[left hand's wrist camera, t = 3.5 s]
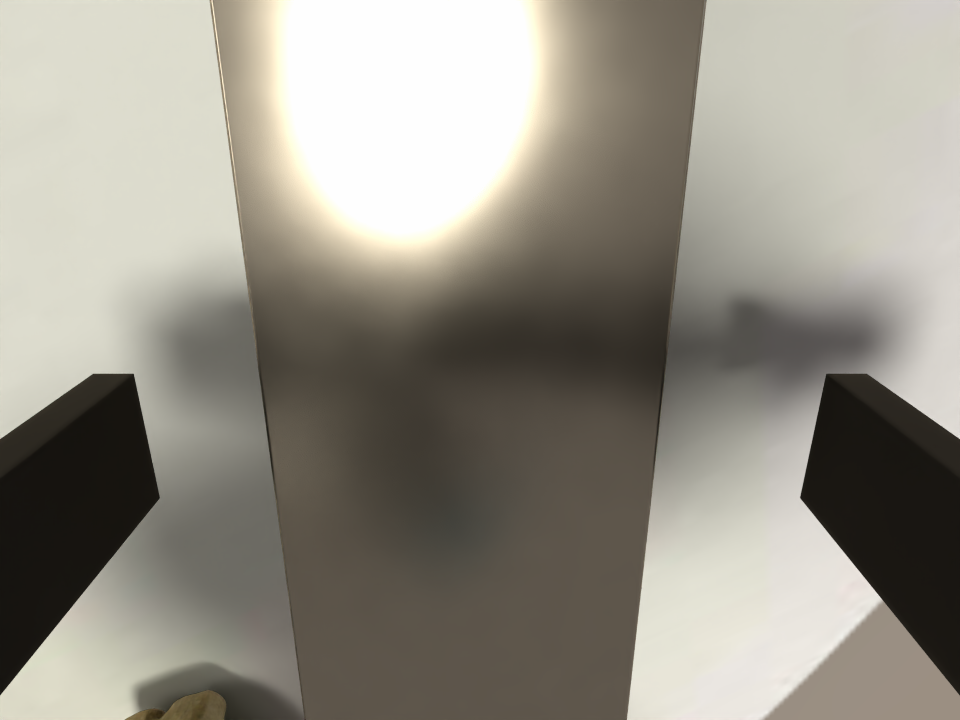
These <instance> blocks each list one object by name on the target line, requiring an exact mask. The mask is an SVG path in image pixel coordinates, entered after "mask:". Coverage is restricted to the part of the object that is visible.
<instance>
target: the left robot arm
mask: <svg viewBox="0 0 960 720" xmlns="http://www.w3.org/2000/svg"><path fill="white" fill-rule="evenodd" d="M159 498H160V496H159V492H158V487H157V482H156V478H155V473H154V468H153V463H152V459H151V454H150V449H149V444H148V440H147V435H146V430H145V425H144V421H143V416H142V411H141V406H140V402H139V397H138V392H137V387H136V383H135V378H134V374H92V375H91V376H90V377H88V378H87V379H85V380H84V381H82V382H81V383H80V384H78V385H77V386H75V387H74V388H72V389H71V390H70V391H68V392H67V393H65V394H64V395H62V396H61V397H60V398H58V399H57V400H55V401H54V402H52V403H51V404H50V405H48V406H47V407H45V408H44V409H43V410H41V411H40V412H38V413H37V414H35V415H34V416H33V417H31V418H30V419H28V420H27V421H25V422H24V423H23V424H21V425H20V426H18V427H17V428H15V429H14V430H13V431H11V432H10V433H8V434H7V435H6V436H4V437H3V438H1V439H0V695H1V694H2V692H3V691H4V690H5V689H6V687H7V686H8V685H9V684H10V683H11V681H12V680H13V679H14V678H15V676H16V675H17V674H18V673H19V671H20V670H21V669H22V668H23V666H24V665H25V664H26V663H27V662H28V660H29V659H30V658H31V657H32V655H33V654H34V653H35V652H36V650H37V649H38V648H39V647H40V645H41V644H42V643H43V642H44V641H45V639H46V638H47V637H48V636H49V634H50V633H51V632H52V631H53V629H54V628H55V627H56V626H57V624H58V623H59V622H60V621H61V619H62V618H63V617H64V616H65V615H66V613H67V612H68V611H69V610H70V608H71V607H72V606H73V605H74V603H75V602H76V601H77V600H78V598H79V597H80V596H81V595H82V594H83V592H84V591H85V590H86V589H87V587H88V586H89V585H90V584H91V582H92V581H93V580H94V579H95V577H96V576H97V575H98V574H99V573H100V571H101V570H102V569H103V568H104V566H105V565H106V564H107V563H108V561H109V560H110V559H111V558H112V556H113V555H114V554H115V553H116V552H117V550H118V549H119V548H120V547H121V545H122V544H123V543H124V542H125V540H126V539H127V538H128V537H129V535H130V534H131V533H132V532H133V530H134V529H135V528H136V527H137V526H138V524H139V523H140V522H141V521H142V519H143V518H144V517H145V516H146V514H147V513H148V512H149V511H150V509H151V508H152V507H153V506H154V505H155V503H156V502H157V501H158V500H159ZM800 498H801V500H802V501H803V502H804V503H805V505H806V506H807V507H808V508H809V509H810V511H811V512H812V513H813V514H814V516H815V517H816V518H817V519H818V521H819V522H820V523H821V524H822V526H823V527H824V528H825V529H826V530H827V532H828V533H829V534H830V535H831V537H832V538H833V539H834V540H835V542H836V543H837V544H838V545H839V547H840V548H841V549H842V550H843V552H844V553H845V554H846V555H847V556H848V558H849V559H850V560H851V561H852V563H853V564H854V565H855V566H856V568H857V569H858V570H859V571H860V573H861V574H862V575H863V576H864V577H865V579H866V580H867V581H868V582H869V584H870V585H871V586H872V587H873V589H874V590H875V591H876V592H877V594H878V595H879V596H880V597H881V598H882V600H883V601H884V602H885V603H886V605H887V606H888V607H889V608H890V610H891V611H892V612H893V613H894V615H895V616H896V617H897V618H898V619H899V621H900V622H901V623H902V624H903V626H904V627H905V628H906V629H907V631H908V632H909V633H910V634H911V636H912V637H913V638H914V639H915V641H916V642H917V643H918V644H919V645H920V647H921V648H922V649H923V650H924V652H925V653H926V654H927V655H928V657H929V658H930V659H931V660H932V662H933V663H934V664H935V665H936V666H937V668H938V669H939V670H940V671H941V673H942V674H943V675H944V676H945V678H946V679H947V680H948V681H949V682H950V684H951V685H952V686H953V687H954V689H955V690H956V691H957V692H958V694H959V695H960V439H959V438H957V437H956V436H954V435H953V434H952V433H950V432H949V431H947V430H946V429H945V428H943V427H942V426H940V425H939V424H937V423H936V422H935V421H933V420H932V419H930V418H929V417H927V416H926V415H925V414H923V413H922V412H920V411H919V410H917V409H916V408H915V407H913V406H912V405H910V404H909V403H908V402H906V401H905V400H903V399H902V398H900V397H899V396H898V395H896V394H895V393H893V392H892V391H890V390H889V389H888V388H886V387H885V386H883V385H882V384H880V383H879V382H878V381H876V380H875V379H873V378H872V377H870V376H869V375H868V374H826V378H825V383H824V387H823V392H822V397H821V402H820V406H819V411H818V416H817V421H816V425H815V430H814V435H813V440H812V444H811V449H810V454H809V459H808V463H807V468H806V473H805V477H804V482H803V487H802V492H801V496H800Z"/></svg>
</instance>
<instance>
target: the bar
mask: <svg viewBox="0 0 960 720" xmlns="http://www.w3.org/2000/svg"><path fill="white" fill-rule="evenodd" d="M706 1H707V0H210V7H211V14H212V22H213V29H214V37H215V44H216V52H217V59H218V67H219V75H220V82H221V90H222V97H223V105H224V112H225V120H226V127H227V135H228V143H229V150H230V158H231V165H232V173H233V180H234V188H235V195H236V203H237V211H238V218H239V226H240V233H241V241H242V248H243V256H244V263H245V271H246V278H247V286H248V294H249V301H250V309H251V316H252V324H253V331H254V339H255V346H256V354H257V362H258V369H259V377H260V384H261V392H262V399H263V407H264V414H265V422H266V430H267V437H268V445H269V452H270V460H271V467H272V475H273V482H274V490H275V498H276V505H277V513H278V520H279V528H280V535H281V543H282V550H283V558H284V566H285V573H286V581H287V588H288V596H289V603H290V611H291V618H292V626H293V634H294V641H295V649H296V656H297V664H298V671H299V679H300V686H301V694H302V702H303V709H304V717H305V720H627V713H628V704H629V695H630V686H631V677H632V668H633V659H634V650H635V641H636V632H637V623H638V614H639V605H640V596H641V587H642V578H643V569H644V560H645V551H646V542H647V533H648V524H649V515H650V506H651V497H652V488H653V479H654V470H655V461H656V452H657V443H658V433H659V424H660V415H661V406H662V397H663V388H664V379H665V370H666V361H667V352H668V343H669V334H670V325H671V316H672V307H673V298H674V289H675V280H676V271H677V262H678V253H679V244H680V235H681V226H682V217H683V208H684V199H685V190H686V181H687V172H688V163H689V154H690V145H691V136H692V127H693V118H694V109H695V100H696V91H697V82H698V73H699V64H700V55H701V46H702V37H703V28H704V19H705V10H706Z"/></svg>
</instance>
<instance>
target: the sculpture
mask: <svg viewBox="0 0 960 720" xmlns="http://www.w3.org/2000/svg"><path fill="white" fill-rule="evenodd" d="M225 711H226V702H225V700H224V699H223V697H222V696H221V695H219V694H218V693H216V692H214V691H210V690H206V691H203V692H200V693H196V694H192V695H188V696H184V697H182V698H180V699H178V700H177V701H175V702H174V703H173V704H172V706H171V707H170V709H169V710H168V711H167V712H166V713H165V711H163V710H159V709H155V708H154V709H147V710H144V711H141V712H138V713H136V714H134V715H132V716H130V717H128V718H127V719H125V720H224V715H225Z"/></svg>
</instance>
